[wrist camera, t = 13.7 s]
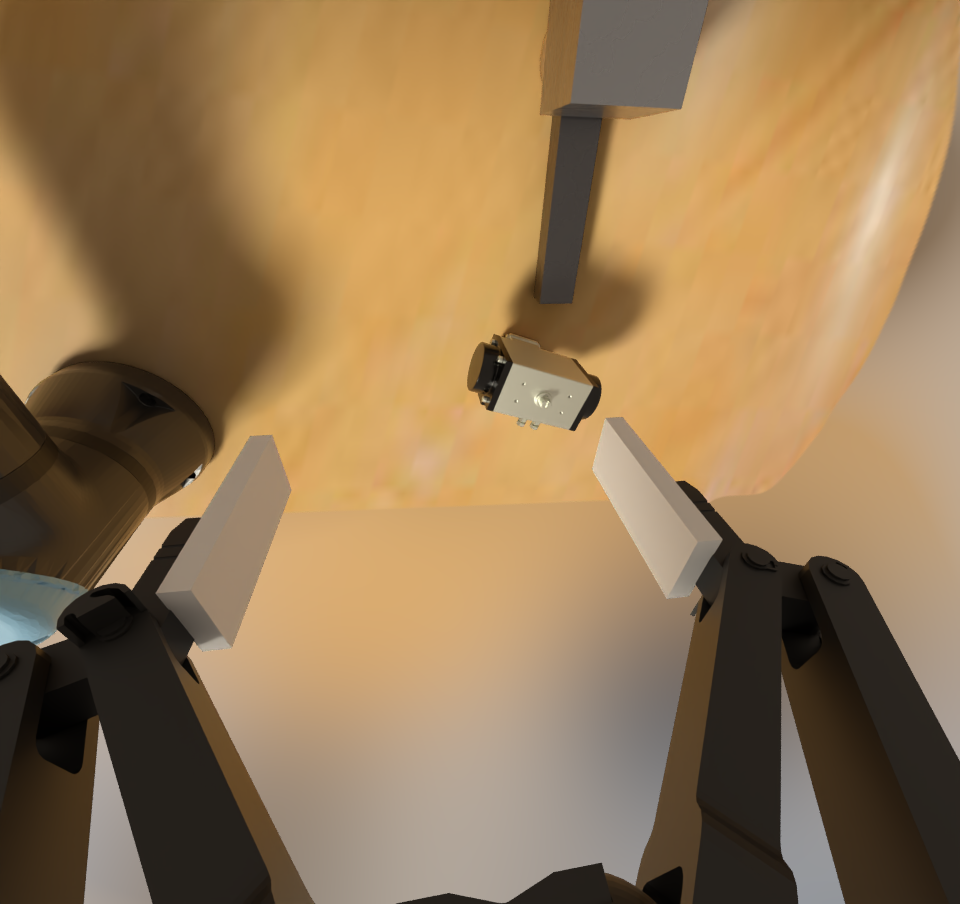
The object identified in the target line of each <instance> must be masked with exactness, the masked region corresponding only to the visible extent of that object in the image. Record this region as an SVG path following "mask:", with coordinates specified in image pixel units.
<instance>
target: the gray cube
mask: <svg viewBox="0 0 960 904" xmlns="http://www.w3.org/2000/svg"><path fill="white" fill-rule="evenodd" d="M708 1H709V0H550V6H549V18H548V29H547V40H546V52H545V63H544V74H543V85H542V97H541V108H540V115H550V116H571V117H591V118H612V119H635V118H640V117H645V116H650V115H654V114H659V113H664V112H669V111H674V110H679V109H681V108H682V104H683V100H684V96H685V92H686V88H687V84H688V80H689V76H690V72H691V68H692V64H693V60H694V56H695V52H696V48H697V44H698V40H699V36H700V32H701V29H702V25H703V21H704V17H705V13H706V9H707V5H708Z"/></svg>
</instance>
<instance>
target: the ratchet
mask: <svg viewBox="0 0 960 904" xmlns="http://www.w3.org/2000/svg"><path fill="white" fill-rule="evenodd" d="M546 40H547V32H546V35H545V37H544V41H543V44H542V49H541V55H540V74H541V80H542V84H543V74H544V63H545V52H546ZM601 122H602V118H591V117H571V116H552V126H551V136H550V145H549V155H548V164H547V174H546V184H545V193H544V203H543V213H542V222H541V232H540V241H539V251H538V261H537V270H536V280H535V289H534V298H535V299H536V300H537V301H538V302H539V303H540V304H565V303H572V301H573V294H574V288H575V282H576V276H577V270H578V264H579V257H580V251H581V245H582V239H583V233H584V227H585V220H586V214H587V208H588V202H589V196H590V190H591V183H592V177H593V171H594V165H595V159H596V153H597V146H598V140H599V134H600V128H601Z"/></svg>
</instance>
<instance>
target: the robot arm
mask: <svg viewBox="0 0 960 904" xmlns="http://www.w3.org/2000/svg"><path fill="white" fill-rule="evenodd" d="M214 446H215V441H214V435H213V431H212V428H211V426H210V424H209V422H208V420H207V418H206V417H205V415H204V414H203V412H202V411H201V410H200V408H199V407H198V406H197V405H196V404H195V403H194V402H193V401H192V400H191V399H190V398H189V397H188V396H187V395H185V394H184V393H183V392H182V391H180V390H179V389H178V388H176V387H175V386H173V385H172V384H170V383H168V382H167V381H165V380H163V379H161V378H159V377H157V376H155V375H153V374H151V373H148V372H146V371H143V370H140V369H137V368H134V367H131V366H127V365H122V364H117V363H110V362H84V363H78V364H74V365H70V366H68V367H65V368H63V369H61V370H59V371H57V372H56V373H54V374H52V375H51V376H49V377H47V378H46V379H44V380H43V381H41V382H40V383H39V384H38V385H36V386H35V387H34V389H33V390H32V391H31V392H30V394H29V396H28V398H27V400H26V403H25V405H24V404H23V402H22V401H21V400H20V399H19V397H18V396H17V395H16V394H15V392H14V391H13V390H12V389H11V387H10V386H9V385H8V384H7V383H6V381H5V380H4V379H3V377H2V376H1V375H0V904H84V892H85V881H86V870H87V858H88V846H89V833H90V823H91V812H92V811H91V810H92V800H93V788H94V777H95V765H96V754H97V753H96V752H97V741H98V730H99V720H100V723H101V726H102V730H103V733H104V737H105V740H106V744H107V747H108V751H109V754H110V758H111V761H112V764H113V768H114V771H115V775H116V778H117V782H118V785H119V789H120V792H121V796H122V799H123V802H124V806H125V809H126V813H127V816H128V820H129V823H130V826H131V830H132V834H133V837H134V840H135V844H136V847H137V851H138V854H139V858H140V861H141V865H142V868H143V872H144V875H145V878H146V882H147V885H148V889H149V892H150V896H151V899H152V903H153V904H315V903H314V901H313V900H312V898H311V897H310V895H309V893H308V891H307V889H306V887H305V886H304V884H303V881H302V880H301V878H300V876H299V874H298V872H297V870H296V868H295V866H294V864H293V862H292V860H291V858H290V856H289V854H288V852H287V850H286V848H285V846H284V844H283V842H282V840H281V838H280V836H279V834H278V832H277V830H276V828H275V826H274V824H273V822H272V820H271V818H270V816H269V814H268V812H267V810H266V808H265V806H264V804H263V802H262V800H261V798H260V796H259V794H258V792H257V790H256V788H255V786H254V784H253V782H252V780H251V778H250V776H249V774H248V772H247V770H246V768H245V766H244V764H243V762H242V760H241V758H240V756H239V754H238V752H237V750H236V748H235V746H234V744H233V742H232V740H231V738H230V737H229V734H228V732H227V730H226V728H225V726H224V724H223V722H222V720H221V718H220V717H219V714H218V712H217V710H216V708H215V706H214V704H213V702H212V700H211V698H210V696H209V694H208V692H207V691H206V688H205V686H204V684H203V682H202V680H201V678H200V676H199V675H198V673H197V670H196V668H195V667H194V664H193V662H192V661H191V659H190V658H189V657H188V656H187V655H188V652H189V650H190V648H191V646H192V643H193V642H195V643H196V644H197V645H198V647H199V648H200V649H201V650H202V651H210V650H220V649H228V648H232V646H233V643H234V641H235V638H236V636H237V633H238V630H239V628H240V625H241V622H242V619H243V617H244V614H245V612H246V609H247V606H248V604H249V601H250V598H251V596H252V593H253V591H254V588H255V585H256V582H257V580H258V577H259V575H260V572H261V569H262V567H263V564H264V561H265V559H266V556H267V553H268V551H269V548H270V545H271V543H272V540H273V537H274V535H275V532H276V529H277V527H278V524H279V522H280V519H281V516H282V514H283V511H284V508H285V506H286V503H287V500H288V498H289V495H290V492H291V487H290V484H289V481H288V479H287V476H286V473H285V470H284V467H283V464H282V462H281V459H280V456H279V453H278V450H277V447H276V445H275V442H274V439H273V436H272V435H262V436H250V437H249V439H248V441H247V442H246V444H245V446H244V447H243V449H242V451H241V452H240V454H239V456H238V457H237V459H236V461H235V462H234V464H233V466H232V467H231V469H230V471H229V472H228V474H227V476H226V477H225V479H224V481H223V482H222V484H221V486H220V487H219V489H218V491H217V492H216V494H215V496H214V497H213V499H212V501H211V502H210V504H209V506H208V507H207V509H206V511H205V512H204V514H203V516H202V517H201V518H187V519H185V520H184V521H183V522H182V523H180V525H178V526H177V527H176V528H175V529H173V530H172V531H171V532H170V534H169V535H168V537H167V538H166V540H165V541H164V543H163V544H162V548H161V549H159V550H158V552H157V553H156V555H155V556H154V560H153V561H151V562H150V564H149V565H148V567H147V568H146V570H145V572H144V573H143V574H142V576H141V578H140V579H139V581H138V582H137V584H136V585H135V587H134V588H133V590H132V591H131V590H130V589H129V588H128V587H127V586H126V585H125V584H118V583H113V584H107V585H102V586H100V587H97V588H95V589H94V587H95V586H96V584H97V583H98V582H99V580H100V579H101V578H102V576H103V575H104V573H105V572H106V571H107V569H108V568H109V566H110V565H111V564H112V562H113V561H114V560H115V558H116V557H117V555H118V554H119V552H120V551H121V550H122V549H123V547H124V546H125V544H126V543H127V542H128V540H129V539H130V538H131V536H132V535H133V533H134V532H135V531H136V529H137V528H138V526H139V525H140V524H141V522H142V521H143V520H144V518H145V517H146V516H147V514H148V513H149V512H150V510H151V509H152V508H153V507H154V506H155V505H157V504H158V503H160V502H162V501H163V500H165V499H167V498H168V497H170V496H171V495H173V494H175V493H176V492H178V491H179V490H181V489H182V488H184V487H186V486H188V485H189V484H191V483H192V482H193V481H194V480H196V479H197V478H198V477H199V476H200V474H201V473H202V472H203V470H204V469H205V467H206V466H207V465H208V463H209V462H210V460H211V458H212V456H213V452H214ZM592 470H593V472H594V474H595V475H596V477H597V479H598V481H599V482H600V484H601V486H602V487H603V489H604V491H605V493H606V494H607V496H608V498H609V500H610V501H611V503H612V505H613V506H614V508H615V510H616V512H617V513H618V515H619V517H620V519H621V520H622V522H623V523H624V525H625V527H626V529H627V530H628V532H629V534H630V536H631V538H632V539H633V541H634V543H635V544H636V546H637V548H638V550H639V551H640V553H641V555H642V556H643V558H644V560H645V562H646V563H647V565H648V567H649V569H650V570H651V572H652V574H653V576H654V577H655V579H656V581H657V582H658V584H659V586H660V587H661V589H662V591H663V593H664V595H665V596H666V598H667V599H670V598H678V597H687V596H689V595H690V594H691V592H692V590H693V589H694V587H695V585H696V586H697V587H698V589H699V590H700V592H701V593H702V596H701V598H700V600H699V601H698V603H697V604H696V606H695V608H694V609H693V611H692V613H691V615H692V616H695V614H696V618H695V623H694V628H693V633H692V638H691V643H690V648H689V653H688V658H687V663H686V668H685V673H684V678H683V683H682V688H681V693H680V698H679V702H678V707H677V712H676V717H675V722H674V728H673V733H672V738H671V742H670V747H669V752H668V757H667V763H666V768H665V773H664V778H663V783H662V787H661V793H660V797H659V802H658V808H657V812H656V818H655V822H654V826H653V830H652V833H651V836H650V838H649V841H648V843H647V845H646V848H645V850H644V853H643V856H642V859H641V863H640V867H639V872H638V876H637V881H636V886H634V885H632V884H631V883H629V882H627V881H625V880H624V879H621V878H619V877H616V876H614V875H611V874H608V873H604V869H603V866H602V863H598V864H593V865H588V866H583V867H578V868H573V869H568V870H563V871H558V872H553V873H552V874H550V875H549V876H547V877H546V878H544V879H543V880H541V881H540V882H538V883H537V884H535V885H534V886H532V887H531V888H529V889H528V890H526V891H524V892H523V893H521V894H520V895H518V896H517V897H515V898H514V899H512V900H511V901H509V902H507V903H495V902H490V901H486V900H481V899H476V898H471V897H465V896H460V895H455V894H450V893H447V894H442V895H437V896H432V897H427V898H422V899H417V900H412V901H407V902H402V903H397V904H798V895H797V885H796V882H795V878H794V875H793V872H792V871H791V869H790V868H789V867H788V865H787V864H786V862H785V861H784V860H783V857H782V854H781V846H780V815H781V814H780V813H781V810H780V809H781V806H780V805H781V800H780V799H781V798H780V797H781V672H782V675H783V679H784V683H785V687H786V690H787V694H788V698H789V701H790V705H791V709H792V712H793V716H794V719H795V723H796V727H797V730H798V734H799V738H800V741H801V745H802V749H803V752H804V755H805V759H806V763H807V766H808V770H809V774H810V778H811V781H812V785H813V788H814V792H815V795H816V799H817V803H818V806H819V810H820V814H821V817H822V821H823V825H824V828H825V832H826V836H827V839H828V843H829V846H830V850H831V854H832V857H833V861H834V864H835V868H836V872H837V875H838V879H839V883H840V886H841V890H842V894H843V897H844V901H845V904H960V761H959V759H958V757H957V755H956V754H955V752H954V750H953V748H952V746H951V744H950V742H949V740H948V738H947V737H946V735H945V733H944V731H943V729H942V727H941V725H940V723H939V722H938V720H937V718H936V716H935V714H934V712H933V710H932V708H931V707H930V705H929V703H928V701H927V699H926V697H925V695H924V694H923V692H922V690H921V688H920V686H919V684H918V682H917V681H916V679H915V677H914V675H913V673H912V671H911V669H910V667H909V666H908V664H907V662H906V660H905V658H904V656H903V654H902V653H901V651H900V649H899V647H898V645H897V643H896V641H895V639H894V638H893V636H892V634H891V632H890V630H889V628H888V626H887V625H886V623H885V621H884V619H883V617H882V615H881V613H880V611H879V610H878V608H877V606H876V604H875V602H874V600H873V598H872V597H871V595H870V593H869V591H868V589H867V587H866V585H865V584H864V582H863V580H862V579H861V578H860V576H859V575H858V574H857V573H856V572H855V571H854V570H852V569H851V568H849V566H847V565H845V564H843V563H842V562H840V561H838V560H835V559H832V558H829V557H824V556H816V557H812V558H811V559H810V560H809V561H808V562H807V564H806V565H805V566H801V565H795V564H790V563H784V562H778V561H777V560H776V559H775V558H774V557H773V556H772V555H771V554H769V553H768V552H767V551H765V550H763V549H761V548H759V547H757V546H754V545H750V544H745V543H743V541H742V540H741V539H740V538H739V537H738V536H737V535H736V533H735V532H734V531H733V530H732V529H731V528H730V526H729V525H728V524H727V523H726V522H725V521H724V519H723V518H722V517H721V516H720V515H719V514H718V513H717V512H715V509H714V508H713V507H712V506H711V504H710V503H707V500H706V499H705V498H704V496H703V495H702V494H701V493H700V492H699V491H698V490H697V489H696V488H694V487H693V486H691V485H690V484H688V483H687V482H685V481H676V482H675V481H674V479H673V478H672V477H671V476H670V474H669V473H668V472H667V471H666V470H665V468H664V467H663V466H662V465H661V463H660V462H659V461H658V460H657V459H656V457H655V456H654V455H653V454H652V452H651V451H650V450H649V449H648V448H647V446H646V445H645V444H644V443H643V441H642V440H641V439H640V438H639V437H638V435H637V434H636V433H635V432H634V430H633V429H632V428H631V427H630V426H629V424H628V423H627V422H626V421H625V419H624V418H623V417H616V418H605V421H604V425H603V429H602V433H601V436H600V440H599V444H598V448H597V452H596V456H595V460H594V464H593V468H592ZM57 630H58V631H60V632H61V633H62V634H63V635H64V636H65V637H67V638H68V639H67V640H65V641H61V642H59V643H56V644H53V645H50V646H47V647H44V648H41V649H40V648H39V647H38V646H36V645H38V644H40V643H42V642H43V641H45V640H46V639H48V638H49V637H50V636H51V635H53V634H54V633H55V632H56V631H57Z"/></svg>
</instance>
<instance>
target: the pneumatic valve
mask: <svg viewBox="0 0 960 904" xmlns="http://www.w3.org/2000/svg"><path fill="white" fill-rule="evenodd" d="M467 386H468V389H469V391H473V392H476V393H478V396H479V399H480V403H481V405H485V407H486V410H490V411H494V412H498V413H502V414H506V415H510V416H514V417H518V418H519V419H518V421H517V424H518V425H519V426H521V427H523V426H524V425H525V423H526V421H527V420H531V421H532V423H531V424H530V427H531V428H532V429H534V430H537V428H538V426H539V424H540V423H543V424H547V425H551V426H555V427H559V428H563V429H567V430H571V431H575V430H576V428H577V426H578V424H579V423H580V421H581V419H586V418H588V417H589V416H591V415H592V413H593V412H594V411H595V409H596V408H597V406H598V403H599V400H600V397H601V382H600V380H599V378H598V377H597V376H594V375H591V374H587V372H586V371H585V370H584V369H583V367H582V366H581V365H580V364H579V363H578V361H577V360H576V359H573V358H569V357H566V356H563V355H560V354H556V353H553V352H550V351H547V350H544V349H540V344H538V343H537V341H535V340H531V339H528V338H525V337H522V336H519V335H516V334H512V333H509V334H506V336H505V337H502V336H498V335H495V334H494V335H493V338H492V339H491V341H490V344H488V343H484V342H481V343H480V344H479V345H478V346H477V348H476V350H475V352H474V354H473V357H472V360H471V363H470V367H469V372H468V379H467Z"/></svg>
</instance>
